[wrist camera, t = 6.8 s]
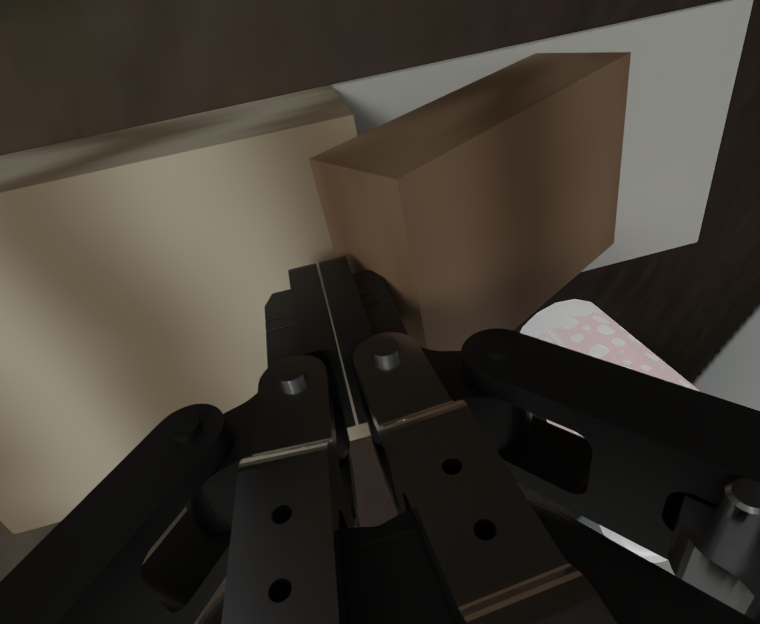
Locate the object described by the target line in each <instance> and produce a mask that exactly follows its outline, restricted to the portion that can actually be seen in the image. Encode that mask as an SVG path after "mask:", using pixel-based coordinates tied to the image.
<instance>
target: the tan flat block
mask: <svg viewBox="0 0 760 624" xmlns="http://www.w3.org/2000/svg"><path fill="white" fill-rule="evenodd" d="M355 137H357V132H356V126H355V121H354V115H353V114H352V112H351V111H350V109H349V108H348V107H347V105H346V104H345V103H344V101H343V100H342V99H341V97H340V96H339V95H338V93H337V92H336V91H335V89H334V88H333V87H332V85H328V86H323V87H318V88H314V89H309V90H304V91H300V92H295V93H291V94H286V95H281V96H277V97H272V98H267V99H263V100H258V101H253V102H249V103H244V104H239V105H235V106H230V107H225V108H221V109H216V110H211V111H207V112H202V113H197V114H193V115H188V116H183V117H179V118H174V119H169V120H165V121H160V122H155V123H151V124H146V125H141V126H137V127H132V128H127V129H123V130H118V131H113V132H109V133H104V134H99V135H95V136H90V137H85V138H81V139H76V140H71V141H67V142H62V143H57V144H53V145H48V146H43V147H39V148H34V149H30V150H25V151H20V152H16V153H11V154H6V155H2V156H0V521H1V522H2V523H3V524H4V525H5V526H6V527H7V528H8V529H9V530H10V531H11V532H12V533H13V534H17V533H21V532H24V531H28V530H32V529H35V528H39V527H42V526H46V525H50V524H53V523H57V522H60V521H62V520H63V519H64V518H65V517H66V516H67V515H68V514H69V513H70V512H71V511H72V510H73V509H74V508H75V507H76V506H77V505H78V504H79V503H80V502H81V501H82V500H83V499H84V498H85V497H86V496H87V495H88V494H89V493H90V492H91V491H92V490H93V489H94V488H95V487H96V486H97V485H98V484H99V483H100V482H101V481H102V480H103V479H104V478H105V477H106V476H107V475H108V474H109V473H110V472H111V471H112V470H113V469H114V468H115V467H116V466H117V465H118V464H119V463H120V462H121V461H122V460H123V459H124V458H125V457H126V456H127V455H128V454H129V453H130V452H131V451H132V450H133V449H134V448H135V447H136V446H137V445H138V444H139V443H140V442H141V441H142V440H143V439H144V438H145V437H146V436H147V435H148V434H149V433H150V432H151V431H152V430H153V429H154V428H155V427H156V426H157V425H158V424H159V423H160V422H161V421H162V420H163V419H164V418H166V417H167V416H168V415H170V414H171V413H173V412H175V411H176V410H179V409H181V408H183V407H186V406H189V405H193V404H210V405H213V406H216V407H217V408H219V409H220V411H221V412H222V414H224V413H226V412H228V411H230V410H231V409H233V408H235V407H237V406H239V405H241V404H243V403H245V402H246V401H248V400H249V399H251V398H252V397H253V396H254V395H255V394H257V393H258V384H259V380H260V378H261V376H262V374H263V373H264V372H265V371H266V369H267V368H268V365H267V345H266V326H265V322H266V321H265V305H266V303H267V302H268V300H269V298H270V296H271V295H272V293H276V292H281V291H285V290H289V289H290V281H289V274H288V270H289V269H293V268H298V267H302V266H306V265H310V264H314V263H316V265H317V269H318V273H319V277H320V281H321V285H322V289H323V292H324V296H325V300H326V304H327V308H328V312H329V316H330V320H331V324H332V328H333V332H334V336H335V340H336V344H337V348H338V353H339V357H340V361H341V365H342V369H343V373H344V378H345V382H346V386H347V390H348V394H349V399H350V403H351V407H352V411H353V415H354V419H355V424H356V426H353V427H349V428H347V430H348V435H349V439H350V441H352V440H355V439H359V438H363V437H366V436H370V435H371V434H370V430H369V427H368V423H363V424H359V423H358V420H357V416H356V412H355V408H354V404H353V400H352V396H351V392H350V388H349V384H348V380H347V376H346V372H345V369H344V365H343V361H342V357H341V353H340V349H339V345H338V341H337V337H336V333H335V329H334V325H333V320H332V316H331V312H330V308H329V304H328V300H327V296H326V292H325V288H324V284H323V280H322V275H321V271H320V267H319V263H318V262H322V261H326V260H331V259H335V258H336V256H335V252H334V249H333V245H332V242H331V238H330V234H329V231H328V227H327V224H326V220H325V216H324V213H323V209H322V205H321V202H320V198H319V195H318V191H317V187H316V184H315V180H314V177H313V173H312V169H311V166H310V162H309V158H312V157H314V156H316V155H318V154H320V153H322V152H324V151H327V150H329V149H331V148H333V147H335V146H337V145H340V144H342V143H344V142H346V141H348V140H350V139H352V138H355Z"/></svg>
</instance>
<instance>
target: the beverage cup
mask: <svg viewBox="0 0 760 624" xmlns="http://www.w3.org/2000/svg"><path fill="white" fill-rule="evenodd" d="M520 333H522V334H525V335H528V336H531V337H534V338H537V339H540V340H544V341H547V342H550V343H553V344H556V345H559V346H562V347H565V348H568V349H571V350H574V351H577V352H580V353H583V354H586V355H589V356H592V357H595V358H598V359H602V360H605V361H608V362H611V363H614V364H617V365H620V366H623V367H626V368H629V369H632V370H635V371H638V372H641V373H644V374H647V375H650V376H653V377H657V378H660V379H663V380H666V381H669V382H672V383H675V384H678V385H681V386H684V387H687V388H690V389H693V390H696V391H699V390H698V389H697V388H696V387H694V386H693V385H692V384H691V383H689V382H688V381H687V380H686V379H685V378H683V377H682V376H681V375H680V374H678V373H677V372H676V371H675V370H674V369H672V368H671V367H670V366H669V365H667V364H666V363H665V362H664V361H663V360H661V359H660V358H659V357H658V356H656V355H655V354H654V353H653V352H652V351H650V350H649V349H648V348H647V347H645V346H644V345H643V344H642V343H641V342H639V341H638V340H637V339H636V338H634V337H633V336H632V335H631V334H630V333H628V332H627V331H626V330H625V329H623V328H622V327H621V326H620V325H619V324H617V323H616V322H615V321H614V320H612V319H611V318H610V317H609V316H607V315H606V314H605V313H604V312H603V311H601V310H600V309H599V308H598V307H596V306H595V305H594V304H593V303H592V302H588V301H583V300H577V299H572V300H567V301H562V302H557V303H554V304H553V305H551V306H549V307H547V308H545V309H543V310H541V311H540V312H538V313H537V314H536V315H534V316H533V317H532V318H531V319H530V320H529V321H528V322H527V323H526V324H525V325H524V326H523V327H522V329H521V331H520ZM699 392H700V391H699ZM546 420H547V419H546ZM547 422H548V423H550V424H552V425H555V426H557V427H560V428H562V429H564V430H567V431H569V432H571V433H574V434H576V435H578V436H581V435H580V434H578V433H577V432H575V431H573V430H570V429H568V428H566V427H563V426H561V425H559V424H556V423H554V422H551V421H549V420H547ZM581 437H583V436H581ZM583 438H584V437H583ZM600 527H601V530H602V532H603V534H604V535H605V536H606V537H607V538H609V539H611V540H612V541H614V542H616V543H618V544H619V545H621V546H623V547H625V548H627V549H628V550H630V551H632V552H634V553H635V554H637V555H639V556H641V557H643V558H644V559H646V560H648V561H650V562H651V563H655V562H656V563H657V562H663V561H667V559H665V558H663V557H661V556H659V555H657V554H655V553H653V552H652V551H650V550H648V549H646V548H644V547H642V546H640V545H638V544H636V543H634V542H632V541H630V540H628V539H626V538H624V537H622V536H620V535H619V534H617V533H615V532H613V531H611V530H609V529H607V528H605V527H603V526H601V525H600Z"/></svg>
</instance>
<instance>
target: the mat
mask: <svg viewBox="0 0 760 624" xmlns="http://www.w3.org/2000/svg"><path fill="white" fill-rule="evenodd" d="M752 4H753V0H724V1H719V2H715V3H710V4H705V5H701V6H696V7H691V8H687V9H682V10H677V11H673V12H668V13H663V14H659V15H654V16H649V17H645V18H640V19H635V20H631V21H626V22H621V23H617V24H612V25H607V26H603V27H598V28H593V29H589V30H584V31H579V32H575V33H570V34H565V35H561V36H556V37H552V38H547V39H542V40H538V41H533V42H528V43H524V44H519V45H514V46H510V47H505V48H500V49H496V50H491V51H486V52H482V53H477V54H472V55H468V56H463V57H458V58H454V59H449V60H444V61H440V62H435V63H430V64H426V65H421V66H416V67H412V68H407V69H402V70H398V71H393V72H388V73H384V74H379V75H374V76H370V77H365V78H360V79H356V80H351V81H346V82H342V83H337V84H332V87H333V88H334V89H335V91H336V92H337V93H338V95H339V96H340V97H341V99H342V100H343V101H344V103H345V104H346V105H347V107H348V108H349V109H350V111H351V112H352V114H353V115H354V121H355V126H356V132H357V136H359V135H361V134H363V133H365V132H367V131H370V130H372V129H374V128H376V127H378V126H380V125H382V124H385V123H387V122H389V121H391V120H393V119H395V118H398V117H400V116H402V115H404V114H406V113H408V112H410V111H413V110H415V109H417V108H419V107H421V106H423V105H425V104H428V103H430V102H432V101H434V100H436V99H438V98H440V97H443V96H445V95H447V94H449V93H451V92H453V91H456V90H458V89H460V88H462V87H464V86H466V85H468V84H471V83H473V82H475V81H477V80H479V79H481V78H483V77H486V76H488V75H490V74H492V73H494V72H496V71H498V70H501V69H503V68H505V67H507V66H509V65H511V64H513V63H516V62H518V61H520V60H522V59H524V58H526V57H529V56H531V55H533V54H535V53H592V52H631V58H630V69H629V80H628V91H627V102H626V113H625V124H624V136H623V147H622V158H621V169H620V180H619V191H618V202H617V214H616V225H615V236H614V244H612V245H611V246H610V247H609V248H608V249H607V250H605V251H604V252H603V253H602V254H601V255H600V256H599V257H597V258H596V259H595V260H594V261H593V262H592V263H590V264H589V265H588V266H587V267H586V268H585V269H584V270H582V271H581V272H583V271H587V270H591V269H595V268H598V267H602V266H606V265H610V264H614V263H618V262H622V261H625V260H629V259H633V258H637V257H641V256H645V255H649V254H653V253H656V252H660V251H664V250H668V249H672V248H676V247H680V246H683V245H687V244H691V243H695V242H698V237H699V233H700V229H701V224H702V220H703V216H704V211H705V207H706V203H707V198H708V194H709V190H710V186H711V181H712V177H713V173H714V168H715V164H716V160H717V155H718V151H719V147H720V142H721V138H722V134H723V129H724V125H725V121H726V116H727V112H728V108H729V103H730V99H731V95H732V90H733V86H734V82H735V78H736V73H737V69H738V65H739V60H740V56H741V52H742V47H743V43H744V39H745V34H746V30H747V26H748V21H749V17H750V13H751V8H752Z"/></svg>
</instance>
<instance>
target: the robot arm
mask: <svg viewBox="0 0 760 624" xmlns="http://www.w3.org/2000/svg"><path fill="white" fill-rule="evenodd" d="M318 263H319V267H320V271H321V275H322V280H323V284H324V288H325V292H326V296H327V300H328V304H329V308H330V312H331V316H332V320H333V325H334V329H335V333H336V337H337V341H338V345H339V349H340V353H341V357H342V361H343V365H344V369H345V372H346V376H347V380H348V384H349V388H350V392H351V396H352V400H353V404H354V408H355V412H356V416H357V420H358V423H359V424H363V423H368V427H369V430H370V434H371V438H372V442H373V446H374V450H375V454H376V456H377V459H378V462H379V465H380V467H381V470H382V473H383V475H384V478H385V481H386V483H387V486H388V489H389V492H390V494H391V497H392V500H393V502H394V505H395V508H396V511H397V513H398V516H396V517H394V518H392V519H391V520H389V521H387V522H385V523H384V524H381V525H379V526H375V527H359V518H358V510H357V501H356V493H355V484H354V476H353V467H352V459H351V454H350V451H349V449H350V439H349V435H348V430H347V428H349V427H353V426H356V424H355V419H354V415H353V411H352V407H351V403H350V399H349V394H348V390H347V386H346V382H345V378H344V373H343V369H342V365H341V361H340V357H339V353H338V348H337V344H336V340H335V336H334V332H333V328H332V324H331V320H330V316H329V312H328V308H327V304H326V300H325V296H324V292H323V289H322V285H321V281H320V277H319V273H318V269H317V265H316V263H314V264H310V265H306V266H302V267H298V268H293V269H289V270H288V274H289V281H290V289H289V290H285V291H281V292H276V293H272V295H271V296H270V298H269V300H268V302H267V303H266V305H265V321H266V322H265V326H266V345H267V365H268V368H267V369H266V371H265V372H264V373H263V374H262V376H261V378H260V380H259V384H258V393H257V394H255V395H254V396H253V397H252V398H251V399H249V400H248V401H246V402H245V403H243V404H241V405H239V406H237V407H235V408H233V409H231V410H230V411H228V412H226V413H224V414H222V412H221V411H220V409H219V408H217V407H216V406H213V405H210V404H193V405H189V406H186V407H183V408H181V409H179V410H176V411H175V412H173V413H171V414H170V415H168V416H167V417H166V418H164V419H163V420H162V421H161V422H160V423H159V424H158V425H157V426H156V427H155V428H154V429H153V430H152V431H151V432H150V433H149V434H148V435H147V436H146V437H145V438H144V439H143V440H142V441H141V442H140V443H139V444H138V445H137V446H136V447H135V448H134V449H133V450H132V451H131V452H130V453H129V454H128V455H127V456H126V457H125V458H124V459H123V460H122V461H121V462H120V463H119V464H118V465H117V466H116V467H115V468H114V469H113V470H112V471H111V472H110V473H109V474H108V475H107V476H106V477H105V478H104V479H103V480H102V481H101V482H100V483H99V484H98V485H97V486H96V487H95V488H94V489H93V490H92V491H91V492H90V493H89V494H88V495H87V496H86V497H85V498H84V499H83V500H82V501H81V502H80V503H79V504H78V505H77V506H76V507H75V508H74V509H73V510H72V511H71V512H70V513H69V514H68V515H67V516H66V517H65V518H64V519H63V520H62V521H61V522H60V523H59V524H58V525H57V526H56V527H55V528H54V529H53V530H52V531H51V532H50V533H49V534H48V535H47V536H46V537H45V538H44V539H43V540H42V541H41V542H40V543H39V544H38V545H37V546H36V547H35V548H34V549H33V550H32V551H31V552H30V553H29V554H28V555H27V556H26V557H25V558H24V559H23V560H22V561H21V562H20V563H19V564H18V565H17V566H16V567H15V568H14V569H13V570H12V571H11V572H10V573H9V574H8V575H7V576H6V577H5V578H4V579H3V580H2V581H1V582H0V624H194V622H195V621H196V619H197V618H198V616H199V615H200V613H201V612H202V611H203V609H204V608H205V606H206V605H207V603H208V602H209V600H210V599H211V597H212V596H213V594H214V593H215V591H216V590H217V588H218V587H219V586H220V584H221V583H222V581H223V580H224V578H225V577H226V585H225V591H224V592H223V594H222V595H221V596H220V597H219V598H218V599H217V600H216V601H215V602H214V603H213V604H212V605H211V607H210V608H209V609H208V611H207V612H206V613H205V614H204V616H203V617H202V618H201V620H200V621H199V623H198V624H760V411H757V410H754V409H751V408H748V407H745V406H742V405H739V404H736V403H733V402H730V401H727V400H724V399H721V398H718V397H715V396H711V395H708V394H705V393H702V392H699V391H696V390H693V389H690V388H687V387H684V386H681V385H678V384H675V383H672V382H669V381H666V380H663V379H660V378H657V377H653V376H650V375H647V374H644V373H641V372H638V371H635V370H632V369H629V368H626V367H623V366H620V365H617V364H614V363H611V362H608V361H605V360H602V359H598V358H595V357H592V356H589V355H586V354H583V353H580V352H577V351H574V350H571V349H568V348H565V347H562V346H559V345H556V344H553V343H550V342H547V341H544V340H540V339H537V338H534V337H531V336H528V335H525V334H522V333H519V332H516V331H513V330H509V329H501V328H494V329H486V330H482V331H479V332H477V333H475V334H473V335H471V336H470V337H469V338H468V339H467V340H466V341H465V342H464V344H463V346H462V350H461V351H435V350H430V349H426V348H423V347H421V346H419V344H418V343H417V341H416V340H415V339H414V338H412V337H411V336H409V335H408V333H407V331H406V329H405V327H404V324H403V322H402V320H401V318H400V315H399V313H398V311H397V309H396V306H395V304H394V302H393V300H392V297H391V295H390V293H389V291H388V288H387V286H386V284H385V281H384V279H383V277H381V276H380V275H378V274H376V273H375V272H373V271H371V270H367V271H362V272H358V273H354V274H352V272H351V269H350V266H349V263H348V261H347V258H346V256H343V257H339V258H335V259H331V260H326V261H322V262H318ZM532 414H535V415H537V416H540V417H542V418H544V419H547V420H549V421H551V422H554V423H556V424H559V425H561V426H563V427H566V428H568V429H570V430H573V431H575V432H577V433H578V434H580V435H581V436H583V437H584V438H583V437H581V436H578V435H576V434H574V433H571V432H569V431H567V430H564V429H562V428H560V427H557V426H555V425H552V424H550V423H548V422H545V421H543V420H541V419H538V418H536V417H534V416H532ZM517 482H518V483H520V484H521V485H523V486H525V487H527V488H529V489H531V490H533V491H535V492H537V493H539V494H541V495H543V496H545V497H547V498H549V499H551V500H553V501H554V502H556V503H558V504H560V505H562V506H564V507H566V508H568V509H570V510H572V511H574V512H576V513H578V514H580V515H582V516H584V517H586V518H587V519H589V520H591V521H593V522H595V523H597V524H599V525H601V526H603V527H605V528H607V529H609V530H611V531H613V532H615V533H617V534H619V535H620V536H622V537H624V538H626V539H628V540H630V541H632V542H634V543H636V544H638V545H640V546H642V547H644V548H646V549H648V550H650V551H652V552H653V553H655V554H657V555H659V556H661V557H663V558H665V559H667V560H669V562H670V565H671V568H672V570H673V572H674V574H675V575H673V574H671V573H669V572H667V571H666V570H664V569H662V568H660V567H659V566H657V565H655V564H653V563H651V562H650V561H648V560H646V559H644V558H643V557H641V556H639V555H637V554H635V553H634V552H632V551H630V550H628V549H627V548H625V547H623V546H621V545H619V544H618V543H616V542H614V541H612V540H611V539H609V538H607V537H605V536H603V535H602V534H600V533H598V532H596V531H594V530H593V529H591V528H589V527H587V526H585V525H584V524H582V523H580V522H578V521H577V520H575V519H573V518H571V517H570V516H568V515H566V514H564V513H562V512H560V511H558V510H556V509H553V508H551V507H548V506H546V505H543V504H540V503H536V502H533V501H529V500H528V499H527V498H526V496H525V495H524V493H523V492H522V490H521V488H520V487H519V485H518V484H517ZM185 506H186V508H187V509H188V510H187V512H186V513H185V514H184V515H183V517H182V518H181V519H180V520H179V521H178V523H177V524H176V525H175V526H174V528H173V529H172V530H171V531H170V532H169V534H168V535H167V536H166V537H165V539H164V540H163V541H162V542H161V544H160V545H159V546H158V547H157V548H156V550H155V551H154V552H153V553H152V555H151V556H150V557H149V558H148V559H147V561H146V562H145V563H144V564H143V561H144V559H145V557H146V555H147V553H148V552H149V550H150V549H151V548H152V546H153V545H154V544H155V543H156V541H157V540H158V539H159V538H160V537H161V535H162V534H163V533H164V532H165V531H166V529H167V528H168V527H169V526H170V524H171V523H172V522H173V521H174V520H175V518H176V517H177V516H178V515H179V514H180V512H181V511H182V510H183V509H184V508H185ZM142 564H143V566H142Z"/></svg>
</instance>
